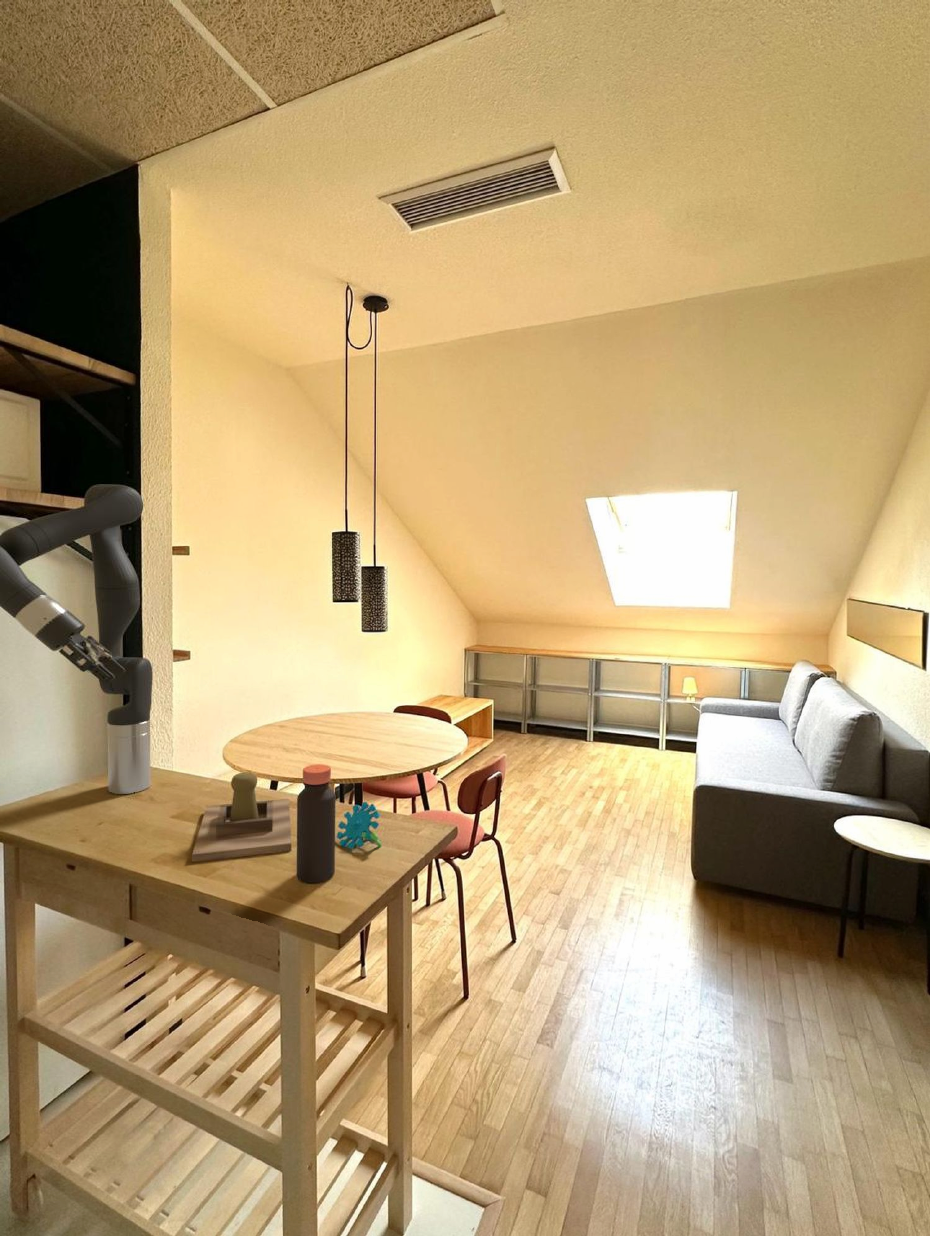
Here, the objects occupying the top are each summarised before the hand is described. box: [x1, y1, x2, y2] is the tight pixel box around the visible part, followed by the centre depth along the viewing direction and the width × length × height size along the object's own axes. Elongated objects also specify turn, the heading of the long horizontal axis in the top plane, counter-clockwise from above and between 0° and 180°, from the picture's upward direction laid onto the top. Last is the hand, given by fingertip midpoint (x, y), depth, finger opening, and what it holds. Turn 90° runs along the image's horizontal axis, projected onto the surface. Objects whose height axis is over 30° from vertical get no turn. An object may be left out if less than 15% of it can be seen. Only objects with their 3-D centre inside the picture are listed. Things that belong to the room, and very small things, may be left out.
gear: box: [336, 801, 383, 850], centre depth 118 cm, size 11×6×10 cm
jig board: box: [191, 798, 292, 863], centre depth 122 cm, size 24×18×4 cm
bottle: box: [296, 763, 337, 885], centre depth 104 cm, size 7×7×20 cm
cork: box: [230, 771, 259, 821], centre depth 121 cm, size 6×6×11 cm
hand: (116, 677), depth 119 cm, fingers open, 8 cm apart
